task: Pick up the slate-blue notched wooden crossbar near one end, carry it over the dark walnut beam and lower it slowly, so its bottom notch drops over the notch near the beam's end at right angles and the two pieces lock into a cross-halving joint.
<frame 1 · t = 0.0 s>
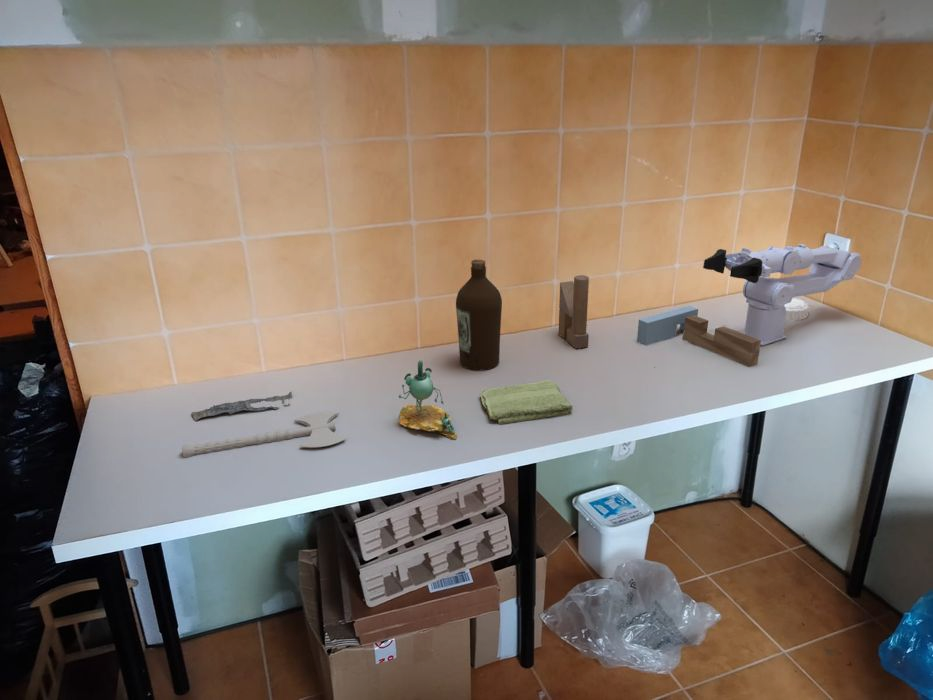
hand: (718, 268, 161), 22 cm above the table, fingers open, 7 cm apart
washcloth: (524, 408, 148), on the table
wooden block: (572, 341, 180), on the table
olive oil: (479, 363, 168), on the table
axe: (266, 444, 137), on the table
slate crossbar: (666, 335, 181), on the table
driftwood: (244, 411, 149), on the table
mooncake: (783, 314, 195), on the table
walnut beam: (718, 351, 172), on the table
frog figurine: (425, 425, 142), on the table
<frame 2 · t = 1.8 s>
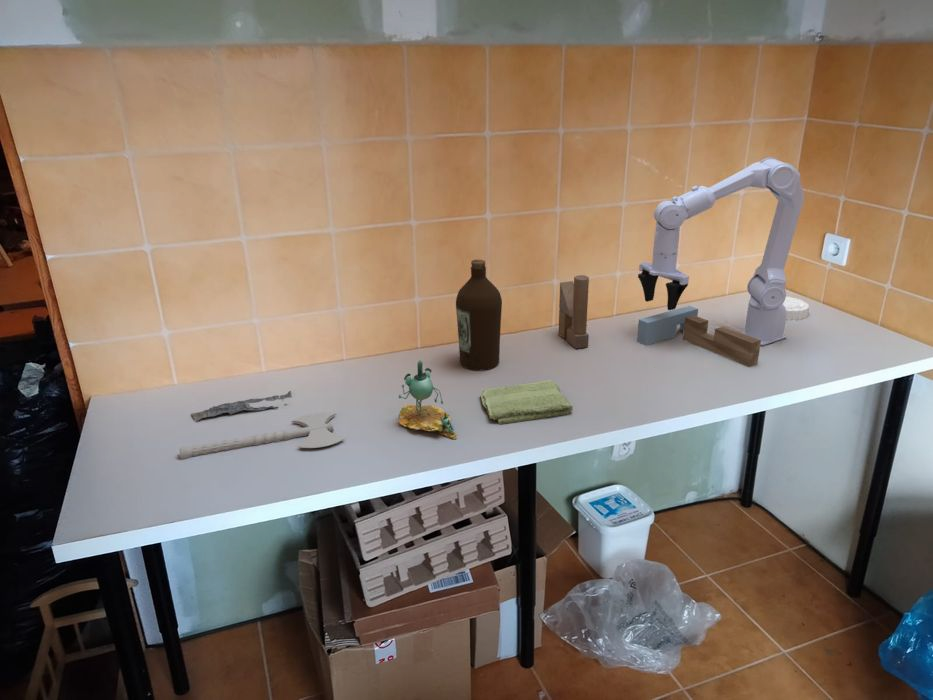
hand: (660, 304, 176), 9 cm above the table, fingers open, 7 cm apart
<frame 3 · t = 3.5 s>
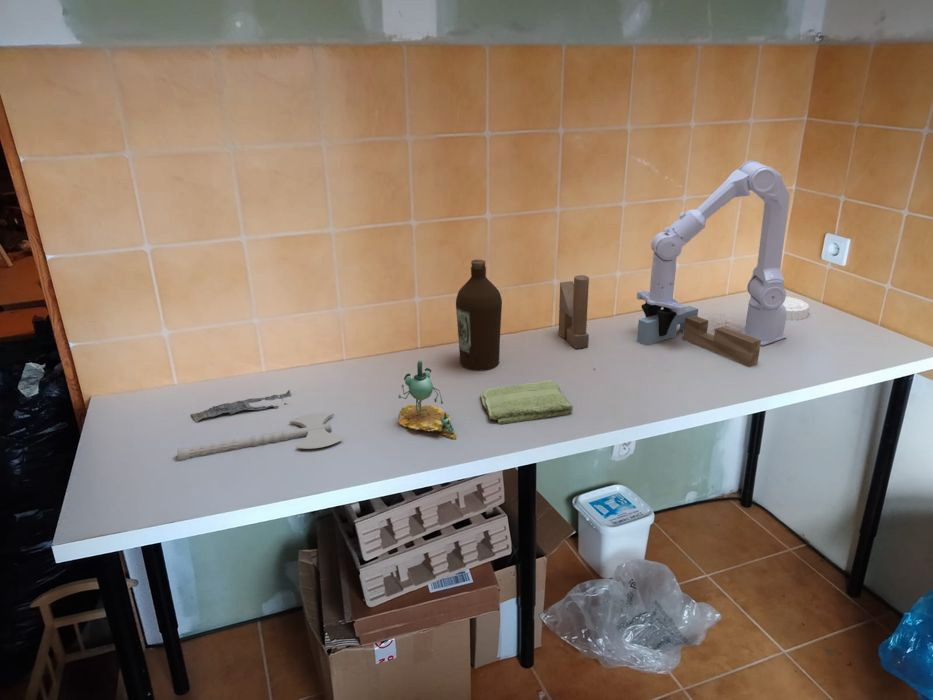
hand: (657, 332, 179), 2 cm above the table, fingers closed on slate crossbar, 3 cm apart
slate crossbar: (666, 335, 181), on the table, touching gripper
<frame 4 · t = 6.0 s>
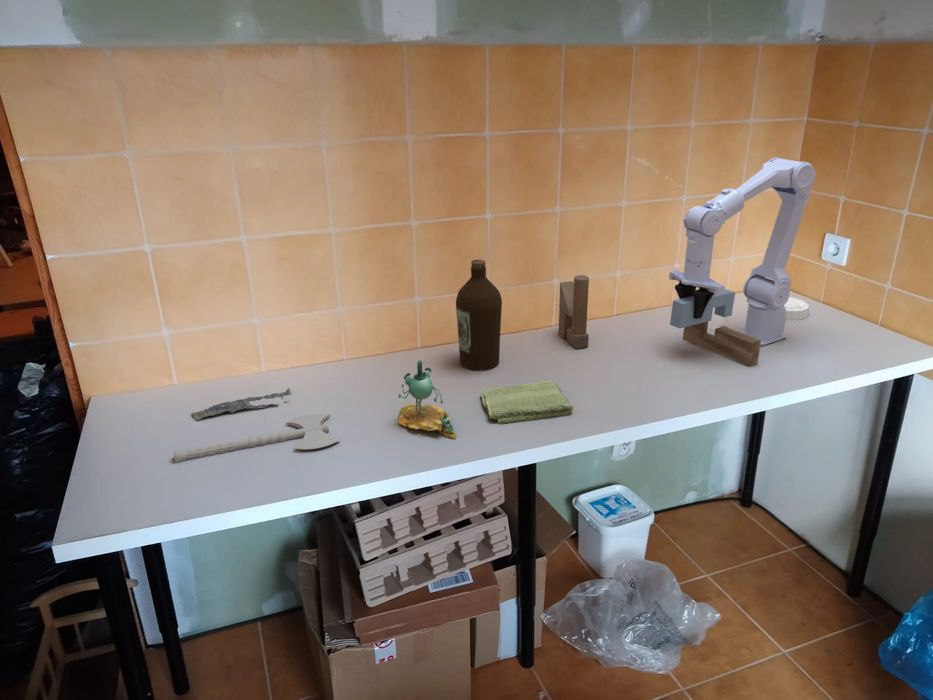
hand: (691, 315, 167), 10 cm above the table, fingers closed on slate crossbar, 3 cm apart
slate crossbar: (701, 320, 169), point 8 cm above the table, touching gripper
when the fingers open (3 cm above the table, at t = 8.3 s): slate crossbar stays where it is, on the table.
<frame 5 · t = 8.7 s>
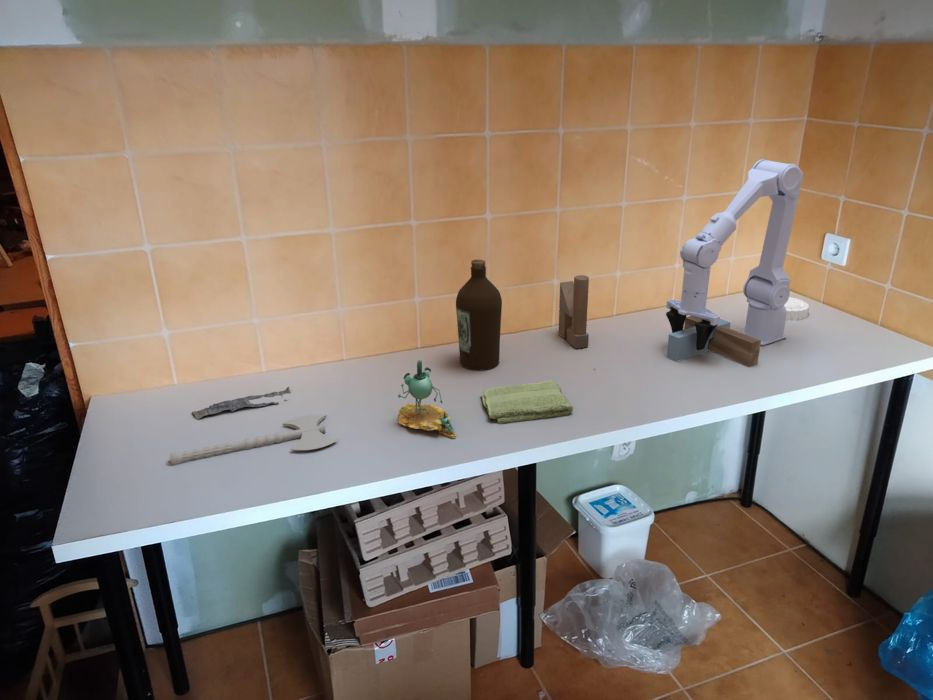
hand: (688, 344, 170), 3 cm above the table, fingers open, 7 cm apart
slate crossbar: (697, 350, 172), on the table
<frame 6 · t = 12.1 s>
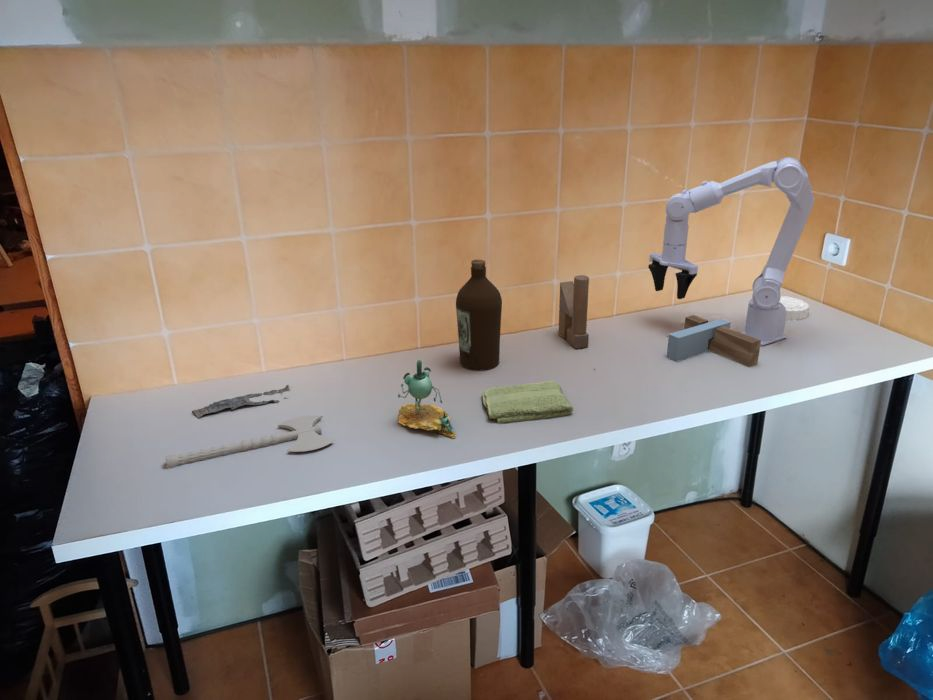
hand: (669, 294, 183), 9 cm above the table, fingers open, 7 cm apart
at the end: slate crossbar 0.0 cm from the target spot on the table beside the walnut beam, on the table; slate crossbar tilted 0°; the gripper is holding nothing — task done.
